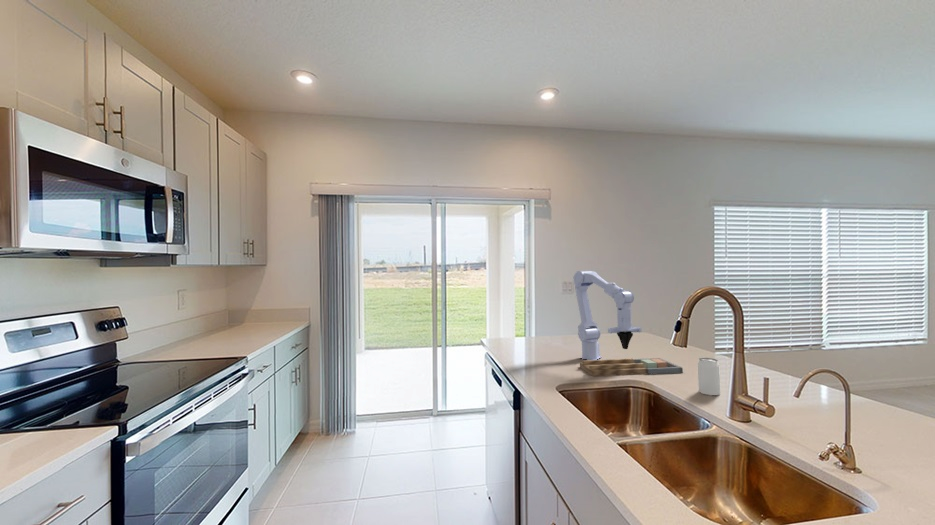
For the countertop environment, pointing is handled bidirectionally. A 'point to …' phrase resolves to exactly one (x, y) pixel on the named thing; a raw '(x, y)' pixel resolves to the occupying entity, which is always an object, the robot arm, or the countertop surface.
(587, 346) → the robot arm
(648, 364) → the pale green upright block
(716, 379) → the can
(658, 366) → the salmon pink block
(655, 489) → the countertop surface
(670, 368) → the tray
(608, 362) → the brown wooden rack
